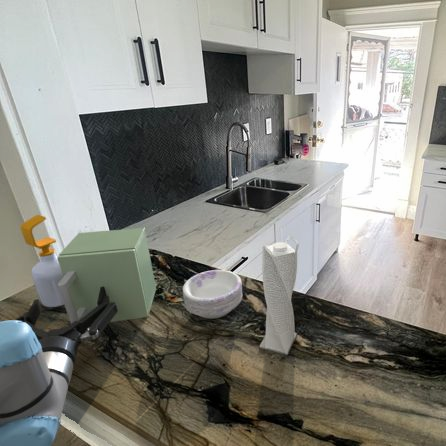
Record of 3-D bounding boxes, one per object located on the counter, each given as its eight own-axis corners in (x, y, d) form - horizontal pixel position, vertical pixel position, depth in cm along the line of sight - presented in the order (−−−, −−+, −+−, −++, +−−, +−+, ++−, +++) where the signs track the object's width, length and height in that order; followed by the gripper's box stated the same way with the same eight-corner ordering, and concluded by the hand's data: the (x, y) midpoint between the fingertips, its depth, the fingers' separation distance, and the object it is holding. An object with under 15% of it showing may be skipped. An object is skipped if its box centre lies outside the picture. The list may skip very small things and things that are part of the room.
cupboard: (149, 314, 83) (135, 247, 75) (81, 323, 80) (58, 254, 72) (156, 288, 94) (144, 227, 86) (96, 295, 90) (78, 232, 82)
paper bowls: (213, 285, 96) (210, 263, 93) (253, 301, 89) (252, 277, 86) (173, 314, 83) (169, 289, 80) (217, 334, 77) (214, 308, 74)
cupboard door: (143, 332, 77) (127, 262, 69) (69, 343, 73) (44, 270, 66) (148, 314, 83) (134, 248, 75) (80, 323, 79) (58, 255, 72)
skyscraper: (302, 335, 77) (305, 232, 66) (291, 360, 70) (293, 249, 59) (270, 328, 79) (268, 227, 68) (257, 351, 72) (252, 243, 61)
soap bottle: (88, 293, 91) (65, 215, 81) (54, 311, 84) (24, 227, 74) (68, 285, 95) (44, 209, 85) (35, 302, 87) (3, 221, 77)
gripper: (-35, 406, 52) (11, 324, 70) (129, 360, 61) (133, 298, 79) (-54, 373, 49) (0, 296, 67) (121, 330, 58) (127, 273, 76)
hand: (72, 297), depth 73 cm, fingers open, 12 cm apart
